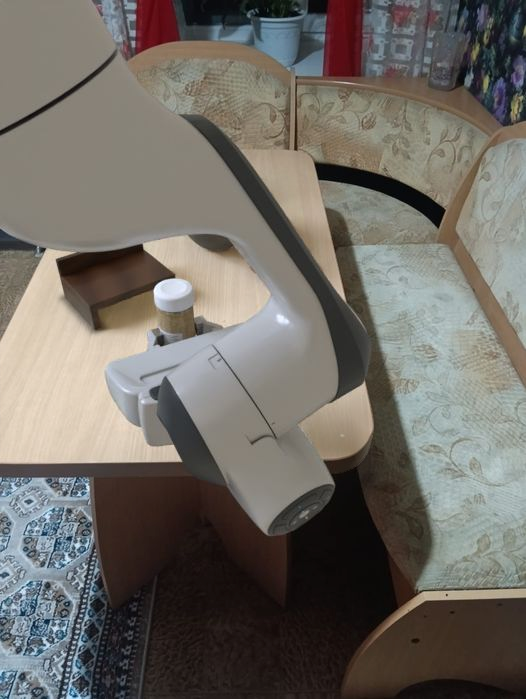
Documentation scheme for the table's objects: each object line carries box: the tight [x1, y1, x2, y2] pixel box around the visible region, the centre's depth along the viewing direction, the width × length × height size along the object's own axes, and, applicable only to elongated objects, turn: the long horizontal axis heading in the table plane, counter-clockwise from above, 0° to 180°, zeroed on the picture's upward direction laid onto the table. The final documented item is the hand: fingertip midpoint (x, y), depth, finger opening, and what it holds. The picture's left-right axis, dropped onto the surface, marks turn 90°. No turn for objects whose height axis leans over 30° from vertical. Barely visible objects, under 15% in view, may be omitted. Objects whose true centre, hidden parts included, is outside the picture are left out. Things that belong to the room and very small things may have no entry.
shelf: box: [54, 243, 176, 331], centre depth 95 cm, size 16×12×8 cm
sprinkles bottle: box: [153, 278, 197, 346], centre depth 66 cm, size 5×5×13 cm
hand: (174, 327), depth 66 cm, fingers closed on sprinkles bottle, 4 cm apart
